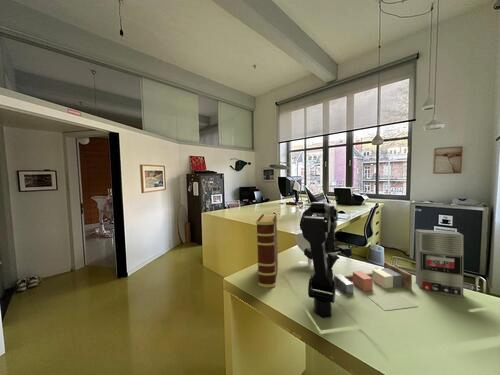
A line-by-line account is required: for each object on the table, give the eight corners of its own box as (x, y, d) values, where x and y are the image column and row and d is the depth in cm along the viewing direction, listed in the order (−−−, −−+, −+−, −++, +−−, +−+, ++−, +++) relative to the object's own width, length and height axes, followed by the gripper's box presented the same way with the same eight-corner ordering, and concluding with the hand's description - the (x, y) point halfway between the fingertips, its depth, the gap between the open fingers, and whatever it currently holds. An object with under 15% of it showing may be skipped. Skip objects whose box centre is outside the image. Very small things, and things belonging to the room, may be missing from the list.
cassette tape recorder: (419, 292, 84) (419, 232, 83) (415, 285, 90) (414, 229, 89) (465, 300, 78) (465, 235, 77) (457, 292, 84) (457, 231, 83)
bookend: (353, 294, 82) (353, 283, 82) (337, 296, 81) (337, 285, 81) (340, 283, 91) (340, 273, 91) (325, 285, 90) (325, 275, 90)
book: (402, 287, 87) (402, 275, 86) (393, 288, 86) (393, 275, 86) (388, 279, 94) (388, 268, 93) (380, 280, 93) (380, 268, 93)
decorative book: (275, 288, 91) (273, 221, 90) (257, 287, 92) (255, 221, 91) (278, 267, 113) (276, 213, 112) (263, 266, 114) (262, 213, 113)
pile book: (418, 312, 73) (418, 306, 73) (385, 316, 71) (385, 310, 71) (396, 298, 82) (396, 292, 82) (367, 301, 80) (367, 296, 80)
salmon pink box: (372, 291, 85) (372, 278, 84) (363, 292, 84) (363, 279, 84) (361, 283, 92) (360, 270, 91) (352, 283, 91) (352, 271, 91)
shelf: (413, 292, 84) (413, 274, 84) (339, 301, 79) (339, 282, 79) (388, 278, 97) (388, 261, 97) (323, 285, 92) (322, 268, 92)
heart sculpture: (295, 263, 118) (294, 232, 117) (298, 260, 122) (297, 230, 121) (322, 269, 108) (322, 235, 108) (325, 265, 113) (324, 233, 112)
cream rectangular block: (393, 288, 86) (393, 276, 86) (384, 289, 85) (384, 276, 85) (380, 280, 93) (380, 268, 93) (372, 281, 92) (372, 269, 92)
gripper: (337, 229, 94) (337, 262, 95) (298, 232, 92) (299, 266, 92) (352, 235, 83) (353, 273, 84) (309, 238, 80) (310, 277, 81)
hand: (328, 272), depth 85 cm, fingers closed
